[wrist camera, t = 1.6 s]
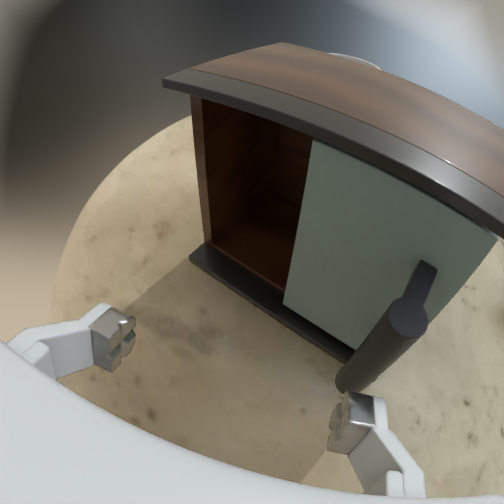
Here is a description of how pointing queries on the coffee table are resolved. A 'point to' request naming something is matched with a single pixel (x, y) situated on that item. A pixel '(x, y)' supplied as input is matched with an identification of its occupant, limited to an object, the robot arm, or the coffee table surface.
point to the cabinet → (298, 155)
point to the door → (376, 259)
